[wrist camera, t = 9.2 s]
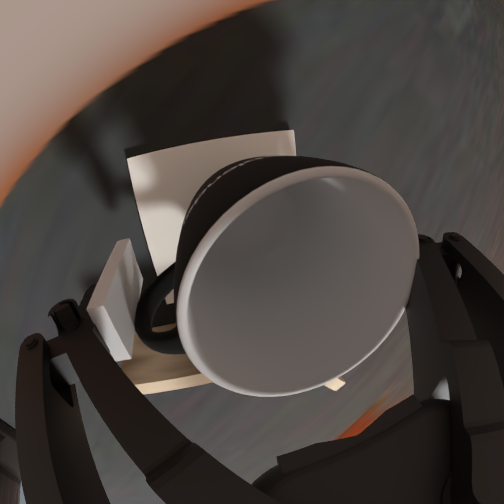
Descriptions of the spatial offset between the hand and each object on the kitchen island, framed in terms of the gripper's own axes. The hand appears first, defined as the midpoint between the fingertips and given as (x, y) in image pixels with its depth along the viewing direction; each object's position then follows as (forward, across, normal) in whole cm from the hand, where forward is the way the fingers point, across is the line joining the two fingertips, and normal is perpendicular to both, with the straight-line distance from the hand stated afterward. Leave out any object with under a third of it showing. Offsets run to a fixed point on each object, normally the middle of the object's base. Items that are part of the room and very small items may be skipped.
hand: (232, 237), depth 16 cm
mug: (+2, 0, 0) cm, 2 cm away
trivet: (+4, 0, 0) cm, 4 cm away
